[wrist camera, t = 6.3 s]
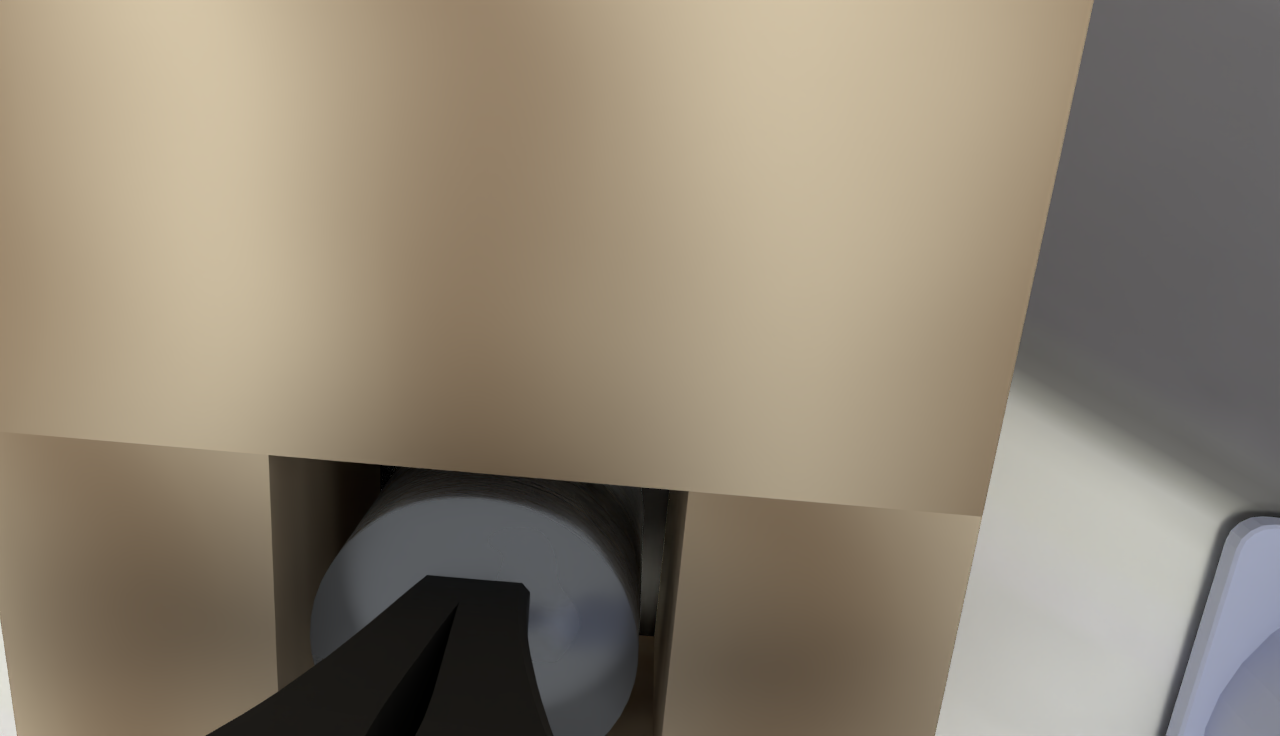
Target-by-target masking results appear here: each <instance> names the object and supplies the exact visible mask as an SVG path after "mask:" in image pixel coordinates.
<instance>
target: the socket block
mask: <svg viewBox="0 0 1280 736" xmlns="http://www.w3.org/2000/svg"><path fill="white" fill-rule="evenodd" d="M1093 2H1094V0H0V620H1V627H2V634H3V641H4V648H5V655H6V662H7V669H8V676H9V683H10V690H11V697H12V704H13V711H14V718H15V725H16V731H17V736H206V735H207V734H209V733H211V732H213V731H214V730H216V729H218V728H219V727H221V726H223V725H225V724H226V723H228V722H230V721H232V720H233V719H235V718H237V717H238V716H240V715H242V714H244V713H245V712H247V711H248V710H250V709H252V708H253V707H255V706H256V705H258V704H260V703H261V702H263V701H264V700H266V699H267V698H269V697H270V696H272V695H274V694H275V693H277V692H278V691H280V690H281V689H282V688H284V687H285V686H287V685H288V684H289V683H291V682H292V681H294V680H295V679H296V678H298V677H299V676H301V675H302V674H303V673H305V672H306V671H308V670H309V669H310V668H312V667H313V666H315V665H314V661H313V657H312V651H311V641H310V624H311V614H312V609H313V604H314V599H315V596H316V594H317V591H318V588H319V586H320V583H321V581H322V579H323V577H324V575H325V574H326V572H327V570H328V568H329V566H330V565H331V563H332V562H333V560H334V559H335V557H336V556H337V555H338V553H339V552H340V550H341V549H342V547H343V546H344V544H345V543H346V542H347V540H348V539H349V537H350V536H351V534H352V533H353V531H354V530H355V529H356V527H357V526H358V524H359V523H360V521H361V520H362V518H363V517H364V515H365V514H366V513H367V511H368V510H369V508H370V507H371V505H372V504H373V502H374V501H375V500H376V498H377V497H378V495H379V494H380V465H390V466H402V467H413V468H425V469H437V470H448V471H460V472H471V473H483V474H494V475H506V476H518V477H529V478H541V479H552V480H564V481H575V482H587V483H599V484H610V485H622V486H633V487H645V488H656V489H668V490H669V497H668V506H667V516H666V526H665V536H664V545H663V555H662V565H661V575H660V584H659V594H658V604H657V614H656V624H655V633H654V636H644V635H639V648H638V666H637V672H636V677H635V683H634V686H633V688H632V691H631V694H630V697H629V700H628V702H627V704H626V706H625V708H624V710H623V712H622V714H621V716H620V717H619V718H618V720H617V721H616V723H615V724H614V725H613V727H612V728H611V730H610V731H609V732H608V733H607V734H606V735H605V736H935V732H936V728H937V723H938V718H939V714H940V709H941V704H942V700H943V695H944V691H945V686H946V681H947V677H948V672H949V667H950V663H951V658H952V654H953V649H954V644H955V640H956V635H957V630H958V626H959V621H960V617H961V612H962V607H963V603H964V598H965V594H966V589H967V584H968V580H969V575H970V570H971V566H972V561H973V557H974V552H975V547H976V543H977V538H978V533H979V529H980V524H981V520H982V515H983V510H984V506H985V501H986V496H987V492H988V487H989V483H990V478H991V473H992V469H993V464H994V459H995V455H996V450H997V446H998V441H999V436H1000V432H1001V427H1002V422H1003V418H1004V413H1005V409H1006V404H1007V399H1008V395H1009V390H1010V385H1011V381H1012V376H1013V372H1014V367H1015V362H1016V358H1017V353H1018V348H1019V344H1020V339H1021V335H1022V330H1023V325H1024V321H1025V316H1026V312H1027V307H1028V302H1029V298H1030V293H1031V288H1032V284H1033V279H1034V275H1035V270H1036V265H1037V261H1038V256H1039V251H1040V247H1041V242H1042V238H1043V233H1044V228H1045V224H1046V219H1047V214H1048V210H1049V205H1050V201H1051V196H1052V191H1053V187H1054V182H1055V177H1056V173H1057V168H1058V164H1059V159H1060V154H1061V150H1062V145H1063V140H1064V136H1065V131H1066V127H1067V122H1068V117H1069V113H1070V108H1071V103H1072V99H1073V94H1074V90H1075V85H1076V80H1077V76H1078V71H1079V66H1080V62H1081V57H1082V53H1083V48H1084V43H1085V39H1086V34H1087V30H1088V25H1089V20H1090V16H1091V11H1092V6H1093Z"/></svg>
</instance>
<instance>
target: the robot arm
mask: <svg viewBox="0 0 1280 736" xmlns="http://www.w3.org/2000/svg"><path fill="white" fill-rule="evenodd" d="M529 605H530V591H529V590H528V589H527V588H526V587H525V586H524V584H523V583H517V582H505V581H492V580H480V579H468V578H456V577H445V576H433V575H426V576H425V577H424V578H423V579H421V580H420V581H419V582H418V583H416V584H415V585H414V586H413V587H411V588H410V589H409V590H408V591H406V592H405V593H404V594H403V595H402V596H401V597H399V598H398V599H397V600H396V601H395V602H393V603H392V604H391V605H390V606H389V607H388V608H386V609H385V610H384V611H383V612H382V613H380V614H379V615H378V616H377V617H376V618H374V619H373V620H372V621H371V622H370V623H368V624H367V625H366V626H365V627H364V628H362V629H361V630H360V631H359V632H357V633H356V634H355V635H354V636H352V637H351V638H350V639H349V640H347V641H346V642H345V643H343V644H342V645H341V646H340V647H338V648H337V649H336V650H335V651H333V652H332V653H331V654H330V655H328V656H327V657H326V658H324V659H323V660H322V661H320V662H319V663H317V664H316V665H315V666H313V667H312V668H310V669H309V670H308V671H306V672H305V673H303V674H302V675H301V676H299V677H298V678H296V679H295V680H294V681H292V682H291V683H289V684H288V685H287V686H285V687H284V688H282V689H281V690H280V691H278V692H277V693H275V694H274V695H272V696H270V697H269V698H267V699H266V700H264V701H263V702H261V703H260V704H258V705H256V706H255V707H253V708H252V709H250V710H248V711H247V712H245V713H244V714H242V715H240V716H238V717H237V718H235V719H233V720H232V721H230V722H228V723H226V724H225V725H223V726H221V727H219V728H218V729H216V730H214V731H213V732H211V733H209V734H207V735H206V736H553V733H552V730H551V727H550V725H549V721H548V718H547V715H546V712H545V709H544V706H543V703H542V700H541V696H540V692H539V689H538V685H537V681H536V677H535V672H534V668H533V663H532V659H531V654H530V648H529V642H528V623H529ZM1166 736H1280V518H1277V517H1265V516H1261V517H1251V518H1249V519H1246V520H1244V521H1242V522H1240V523H1239V524H1238V525H1236V526H1235V527H1234V528H1233V529H1232V530H1231V531H1230V533H1229V535H1228V537H1227V539H1226V541H1225V544H1224V547H1223V550H1222V554H1221V557H1220V560H1219V563H1218V567H1217V570H1216V573H1215V577H1214V580H1213V583H1212V586H1211V590H1210V593H1209V596H1208V599H1207V603H1206V606H1205V609H1204V612H1203V616H1202V619H1201V622H1200V625H1199V629H1198V632H1197V635H1196V638H1195V642H1194V645H1193V648H1192V652H1191V655H1190V658H1189V661H1188V665H1187V668H1186V671H1185V674H1184V678H1183V681H1182V684H1181V687H1180V691H1179V694H1178V697H1177V700H1176V704H1175V707H1174V710H1173V713H1172V717H1171V720H1170V723H1169V726H1168V730H1167V733H1166Z"/></svg>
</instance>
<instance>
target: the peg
mask: <svg viewBox="0 0 1280 736" xmlns="http://www.w3.org/2000/svg"><path fill="white" fill-rule="evenodd" d="M643 523H644V503H643V495H642V489H641V487H633V486H622V485H610V484H599V483H587V482H575V481H564V480H552V479H541V478H529V477H518V476H506V475H494V474H483V473H471V472H460V471H448V470H437V469H425V468H413V467H402V466H398V468H397V469H396V471H395V472H394V474H393V475H392V476H391V478H390V479H389V481H388V482H387V484H386V485H385V487H384V488H383V489H382V491H381V492H380V494H379V495H378V497H377V498H376V500H375V501H374V502H373V504H372V505H371V507H370V508H369V510H368V511H367V513H366V514H365V515H364V517H363V518H362V520H361V521H360V523H359V524H358V526H357V527H356V529H355V530H354V531H353V533H352V534H351V536H350V537H349V539H348V540H347V542H346V543H345V544H344V546H343V547H342V549H341V550H340V552H339V553H338V555H337V556H336V557H335V559H334V560H333V562H332V563H331V565H330V566H329V568H328V570H327V572H326V574H325V575H324V577H323V579H322V581H321V583H320V586H319V588H318V591H317V594H316V596H315V599H314V604H313V609H312V614H311V624H310V641H311V651H312V657H313V661H314V665H316V664H317V663H319V662H320V661H322V660H323V659H324V658H326V657H327V656H328V655H330V654H331V653H332V652H333V651H335V650H336V649H337V648H338V647H340V646H341V645H342V644H343V643H345V642H346V641H347V640H349V639H350V638H351V637H352V636H354V635H355V634H356V633H357V632H359V631H360V630H361V629H362V628H364V627H365V626H366V625H367V624H368V623H370V622H371V621H372V620H373V619H374V618H376V617H377V616H378V615H379V614H380V613H382V612H383V611H384V610H385V609H386V608H388V607H389V606H390V605H391V604H392V603H393V602H395V601H396V600H397V599H398V598H399V597H401V596H402V595H403V594H404V593H405V592H406V591H408V590H409V589H410V588H411V587H413V586H414V585H415V584H416V583H418V582H419V581H420V580H421V579H423V578H424V577H425V576H426V575H433V576H445V577H456V578H468V579H480V580H492V581H505V582H517V583H523V584H524V586H525V587H526V588H527V589H528V590H529V591H530V605H529V623H528V642H529V648H530V654H531V659H532V663H533V668H534V672H535V677H536V681H537V685H538V689H539V692H540V696H541V700H542V703H543V706H544V709H545V712H546V715H547V718H548V721H549V725H550V727H551V730H552V733H553V736H605V735H606V734H607V733H608V732H609V731H610V730H611V728H612V727H613V725H614V724H615V723H616V721H617V720H618V718H619V717H620V716H621V714H622V712H623V710H624V708H625V706H626V704H627V702H628V700H629V697H630V694H631V691H632V688H633V686H634V683H635V677H636V672H637V666H638V648H639V623H640V598H641V573H642V548H643Z"/></svg>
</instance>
